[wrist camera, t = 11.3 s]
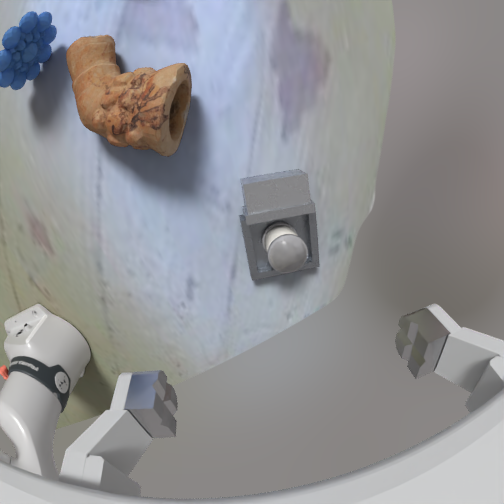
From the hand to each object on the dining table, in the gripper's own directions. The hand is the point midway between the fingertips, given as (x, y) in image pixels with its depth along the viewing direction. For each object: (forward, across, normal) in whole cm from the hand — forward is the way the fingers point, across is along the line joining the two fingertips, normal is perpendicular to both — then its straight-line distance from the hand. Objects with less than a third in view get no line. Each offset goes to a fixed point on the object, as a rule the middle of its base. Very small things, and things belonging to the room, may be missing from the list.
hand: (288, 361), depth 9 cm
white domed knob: (+30, -5, +9) cm, 32 cm away
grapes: (+31, +24, -27) cm, 48 cm away
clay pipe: (+31, +10, -15) cm, 36 cm away
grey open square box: (+31, -5, +7) cm, 32 cm away
